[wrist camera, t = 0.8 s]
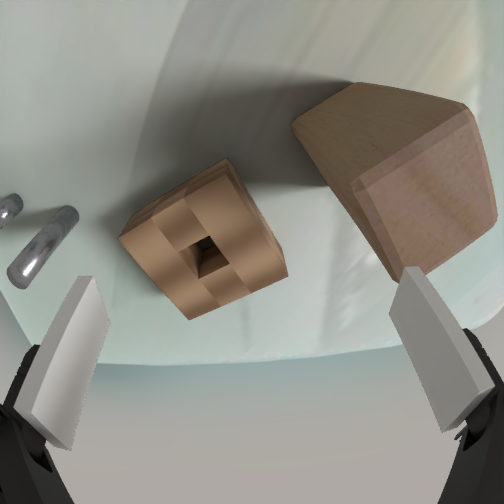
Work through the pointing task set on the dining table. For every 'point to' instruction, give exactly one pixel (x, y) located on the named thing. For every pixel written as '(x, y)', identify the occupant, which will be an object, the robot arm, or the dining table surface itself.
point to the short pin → (10, 209)
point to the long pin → (41, 247)
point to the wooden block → (403, 171)
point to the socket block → (196, 228)
